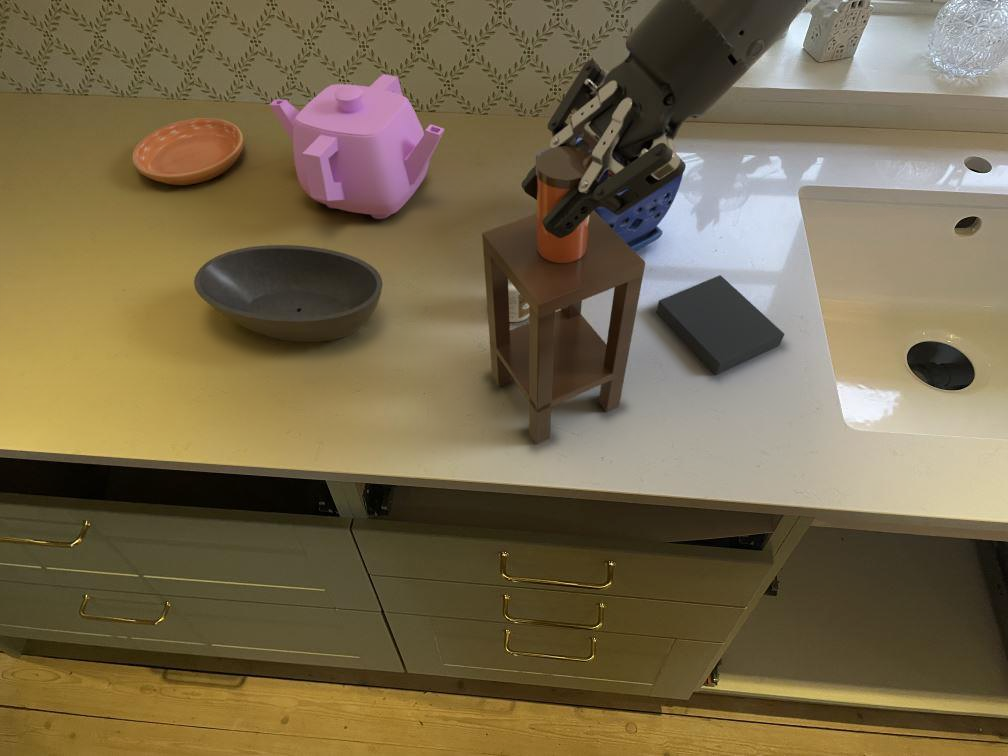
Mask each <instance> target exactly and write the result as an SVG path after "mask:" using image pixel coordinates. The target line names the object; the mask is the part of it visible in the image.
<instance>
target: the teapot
mask: <svg viewBox="0 0 1008 756" xmlns="http://www.w3.org/2000/svg"><path fill="white" fill-rule="evenodd" d="M402 92H403V91H402V88H401V84H400V80H399V77H398V76H396V75H391V74H385V73H382V74H381V75H380V76H379V77H378V78H376V80H375V81H374V82H373V83H372V84H371V85H369V86H365V85H358V84H348V83H347V84H346V83H338V84H337V83H336V84H331V85H330V84H329V86H327V87H326V88H324V89H323V90H321V92H319V93H318V94H317V95H316V96H315V97H314V98H313V99H311V100H310V101H309V102H308V103H307V104H306V105H305V106H304V107H303V108H302V109H301V110H300V111H299V110H298V108H296V107H295V106H293V105H292V104H291V103H290V102H289V101H288V99H279V98H278V99H277V98H276V99H274V100H273V101H272V102H271V103H269V104H268V105H269V107H270V110H271V111H272V112H273V114H274V115H275V117H276V119H277V120H278V121H279V123H280V124H281V126H282V128H283V129H284V131H285V132H286V133H287V135H288V137H289V138H290V140H291V142H292V143H293V144H292V145H293V147H292V149H293V160H294V166H295V171H296V177H297V179H298V182H299V184H300V187H302V189H303V191H304V192H305V193H306V194H307V195H308V196H309V197H310V198H312V199H313V200H314V201H316V202H318V203H321V204H323V205H325V206H326V207H327V208H329V209H338V210H341V211H345V212H350V213H357V214H364V215H370V216H371V217H372V219H377V220H382V219H387V218H388V217H390V216H391V215H393V214H395V213H397V212H398V211H400V210H401V209H402V207H403V206H404V205H405V204H407V202H408V201H409V200H410V199H411V198H412V196H413V195H414V194H415V192H416V191H417V190H418V188H419V187H420V185H421V184H422V183H423V181H424V179H425V178H426V175H427V172H428V169H429V165H430V161H431V158H432V156H433V154H434V152H435V150H436V148H437V146H438V144H439V142H440V140H441V138H442V137H443V135H444V133H445V128H444V127H440V126H437V125H435V124H431V123H430V124H429V125H428V127H426V129H425V131H424V129H423V126H422V124H421V121H420V120H419V118H418V116H417V113H416V112H415V111H416V110H414V107H413V105H412V104H411V102H410V100H409V98H408V97H406V96H405V95H403V93H402Z"/></svg>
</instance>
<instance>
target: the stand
mask: <svg viewBox="0 0 1008 756" xmlns="http://www.w3.org/2000/svg"><path fill="white" fill-rule="evenodd" d="M481 235H482V237H481V239H482V251H483V265H484V278H485V279H484V281H485V294H486V295H485V296H486V306H487V307H486V308H487V320H488V335H489V351H490V364H491V376H492V379H493V381H494V382H495V384H496V386H497V387H498V388H501V387H503V386H506V385H508V384H510V383H512V382H513V381H512V379H513V380H514V382H515V383H516V385H517V386H518V388H519V389H520V390H521V392H522V393H523V395H524V396H525V398H526V399H527V401H528V407H529V408H528V434H529V436H530V437H531V439H532V440H533V442H534V444H535V445H539V444H542V443H543V442H545V441H548V440H550V439H551V422H552V421H551V419H552V407H555V406H556V405H559V404H561V403H564V402H566V401H568V400H570V399H572V398H575V397H576V396H579V395H581V394H583V393H585V392H589V391H590V390H593V389H594V388H598V387H599V386H600V389H599V396H598V404H599V405H600V406H601V407H602V409H603V410H604V411H605V413H609V412H611V411H613V410H615V409H617V408H619V407H620V402H621V398H622V392H623V387H624V382H625V376H626V370H627V365H628V361H629V360H628V359H629V354H630V348H631V343H632V339H633V332H634V326H635V321H636V317H637V311H638V305H639V300H640V293H641V289H642V284H643V278H644V277H643V276H644V273H645V267H646V262H645V260H644V259H643V258H642V257H641V256H640V255H639V254H638V253H637V252H636V251H634V250H633V249H632V248H631V247H630V246H629V245H628V244H627V243H626V242H625V241H624V240H623V239H622V238H621V237H620V236H619V235H618V234H617V233H616V232H615V231H614V230H613V229H612V228H611V227H610V226H609V225H608V224H607V223H606V222H605V221H604V220H603V219H602V218H601V217H600V216H599V215H598V214H597V213H596V212H595V211H594V210H593V211H592V212H591V214H590V217H589V229H588V240H587V250H586V252H585V254H584V255H583V256H582V257H581V258H580V259H578V260H576V261H573V262H569V263H555V262H551V261H548V260H546V259H544V258H543V257H542V256H541V255H540V254H539V253H538V251H537V213H535V214H532V215H529V216H525V217H523V218H520V219H517V220H514V221H512V222H509V223H506V224H503V225H501V226H500V225H499V226H498V227H495V228H492V229H489V230H486V231H484V232H481ZM508 279H509V280H510V282H511V283H512V284H513V285H514V287H515V288H516V289H517V291H518V292H519V293H520V294H521V296H522V297H523V298H524V300H525V301H526V302H527V304H528V305H529V317H528V322H526V323H525V324H522V325H520V326H517V327H514V328H512V329H511V325H510V324H511V322H509V293H508ZM611 289H614V290H613V296H612V302H611V311H610V318H609V325H608V332H607V337H606V338H607V339H606V342H605V340H603V338H602V337H601V336H600V335H599V334H598V332H597V331H596V330H595V328H594V327H593V326H592V325H591V324H590V323H589V321H587V319H586V318H585V317H584V316H583V315H582V306H583V305H582V304H583V301H584V300H587V299H589V298H591V297H594V296H597V295H599V294H601V293H605V292H606V291H609V290H611Z"/></svg>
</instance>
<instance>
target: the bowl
mask: <svg viewBox="0 0 1008 756" xmlns="http://www.w3.org/2000/svg"><path fill="white" fill-rule="evenodd" d="M193 286H194V289H195V291H196V293H197V295H199V296H200V298H201V299H203V300H204V301H205V302H206V303H207V304H208V305H209V306H210V307H211V308H213V309H214V310H215V311H217V313H220V314H221V316H223V317H225V318H227V319H228V320H229V321H232V322H234V323H236V324H237V325H239V326H241V327H242V328H245V329H248V330H249V331H251V332H255V333H258V334H261V335H263V336H267V337H269V338H272V339H276V340H281V341H285V342H294V343H322V342H330V341H335V340H339V339H342V338H345V337H348V336H350V335H351V334H353V333H354V332H356V331H357V330H359V329H360V328H361V327H362V326H364V325H365V324H366V323H367V322H368V320H369V319H370V318H371V316H372V315H373V313H374V312H375V310H376V308H377V307H378V304H379V301H380V298H381V294H382V290H383V279H382V276H381V274H380V273H379V271H378V270H377V269H376V268H375V267H374V266H372V265H371V264H369V263H368V262H366V261H365V260H362V259H361V258H359V257H356V256H353V255H352V254H347V253H344V252H340V251H337V250H333V249H327V248H321V247H315V246H308V245H296V244H295V245H294V244H269V245H268V244H267V245H257V246H248V247H242V248H238V249H234V250H230V251H227V252H224V253H221V254H219V255H217V256H215V257H213V258H210V259H209V260H207V262H205V263H204V264H203V265H202V266H201V267H200V268H199V269H198V271H197V272H196V274H195V276H194V281H193Z"/></svg>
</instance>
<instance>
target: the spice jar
mask: <svg viewBox="0 0 1008 756" xmlns="http://www.w3.org/2000/svg"><path fill="white" fill-rule="evenodd" d="M550 148H551V147H550ZM547 149H548V150H546V149H545V150H546V151H544V150H543V151H544V152H542V151H541V152H542V153H541V154H540V155H539V156H538V158H537V160H536V159H535V165H536V175H537V200H536V214H537V251H538V253H539V254H540V255H541V256H542V257H543V258H544V259H546V260H548V261H551V262H555V263H569V262H573V261H576V260H578V259H580V258H581V257H582V256H583V255H584V254H585V252H586V250H587V240H588V229H589V217H590V215H589V216H588V217H587V218H586V219H585V220H584V221H583V222H582V223H580V225H579V226H578V227H576V229H575V230H574V231H573V232H572V233H571V234H569V235H567V236H565V237H563V238H557V237H556V236H554V235H553V234H551V233H550V232H548V231H547V230H546V229H545V227H544V226H543V224H542V221H543V219H544V217H545V216H546V215H547V214H548V213H549V212H550V211H551V210H552V209H553V208H554V207H555V206H556V205H557V204H558V202H559V201H560V200H561V199H562V198H563V197H564V196H565V195H566V194H567V193H568V192H569V191H570V190H571V189H572V188H573V187H574V186H575V187H576V188H578V184H579V182H580V180H581V179H582V177H583V176H584V174H585V173H586V171H587V169H588V168H589V166H590V165H591V163H592V155H591V154H590V153H588V152H587V151H585V150H583V149H580V148H577V147H570V146H560V147H554V148H551V149H549V148H547Z"/></svg>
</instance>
